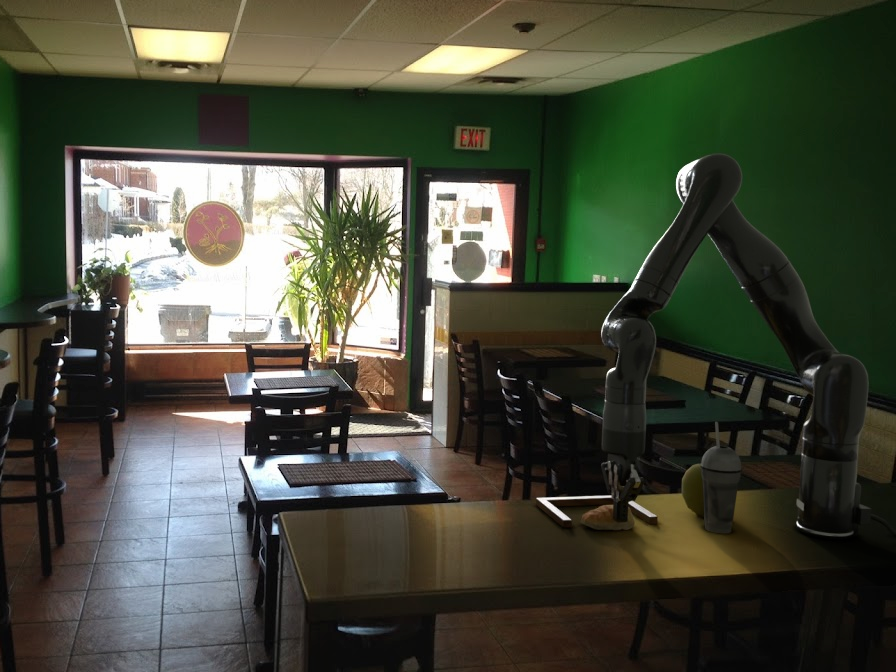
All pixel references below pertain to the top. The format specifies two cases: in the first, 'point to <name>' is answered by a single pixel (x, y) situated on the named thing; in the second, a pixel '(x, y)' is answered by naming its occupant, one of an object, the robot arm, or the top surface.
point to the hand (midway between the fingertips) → (620, 521)
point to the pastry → (606, 519)
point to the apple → (693, 489)
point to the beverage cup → (720, 486)
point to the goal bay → (565, 521)
